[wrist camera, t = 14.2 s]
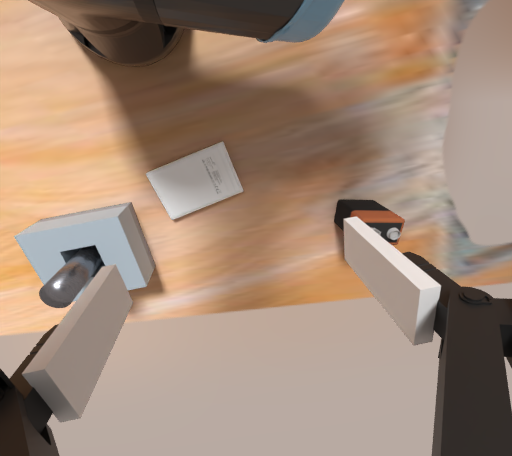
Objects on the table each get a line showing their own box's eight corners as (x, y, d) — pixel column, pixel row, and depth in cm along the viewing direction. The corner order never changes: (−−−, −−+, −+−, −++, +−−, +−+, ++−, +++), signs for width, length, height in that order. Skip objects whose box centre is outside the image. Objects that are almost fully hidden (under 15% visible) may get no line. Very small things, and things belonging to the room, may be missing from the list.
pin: (81, 240, 42) (33, 287, 32) (104, 236, 42) (64, 280, 32) (91, 260, 44) (48, 310, 33) (113, 255, 44) (77, 304, 33)
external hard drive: (147, 171, 41) (223, 140, 41) (173, 217, 45) (243, 189, 44) (145, 173, 40) (223, 141, 39) (171, 221, 43) (244, 192, 42)
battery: (337, 198, 46) (365, 221, 37) (374, 199, 47) (410, 221, 38) (332, 222, 48) (358, 249, 39) (368, 222, 49) (402, 249, 40)
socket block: (41, 219, 42) (14, 236, 36) (131, 202, 42) (117, 216, 37) (75, 281, 47) (56, 304, 41) (155, 265, 47) (146, 286, 42)
